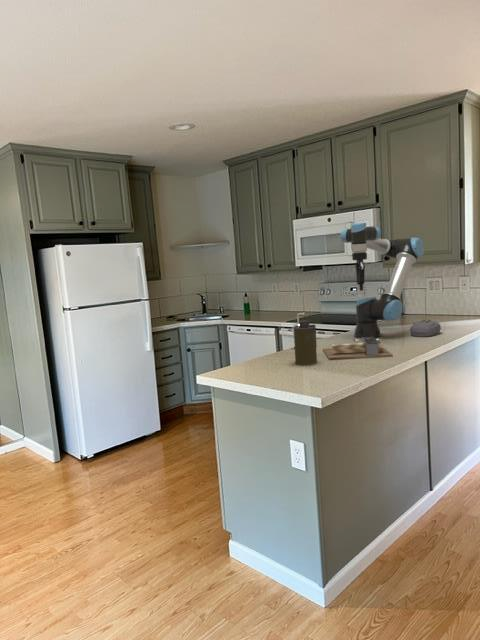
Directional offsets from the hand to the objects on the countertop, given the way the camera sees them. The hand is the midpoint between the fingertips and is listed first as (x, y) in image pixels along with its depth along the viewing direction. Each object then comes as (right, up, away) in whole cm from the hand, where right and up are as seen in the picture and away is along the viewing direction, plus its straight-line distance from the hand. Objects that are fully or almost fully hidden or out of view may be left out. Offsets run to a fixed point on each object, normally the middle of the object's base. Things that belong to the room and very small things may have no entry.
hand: (361, 296), depth 259 cm
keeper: (-2, -29, -24) cm, 38 cm away
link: (-7, -28, -22) cm, 36 cm away
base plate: (-7, -29, -18) cm, 35 cm away
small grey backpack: (+43, -22, +21) cm, 52 cm away
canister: (-34, -33, -32) cm, 57 cm away
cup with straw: (-32, -28, +6) cm, 43 cm away
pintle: (+2, -24, -23) cm, 33 cm away
